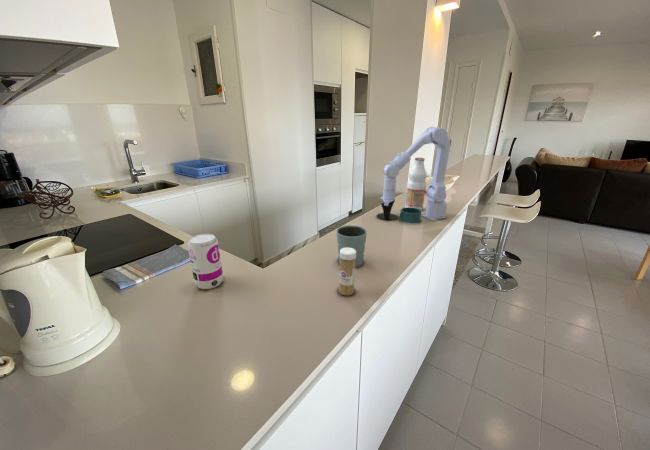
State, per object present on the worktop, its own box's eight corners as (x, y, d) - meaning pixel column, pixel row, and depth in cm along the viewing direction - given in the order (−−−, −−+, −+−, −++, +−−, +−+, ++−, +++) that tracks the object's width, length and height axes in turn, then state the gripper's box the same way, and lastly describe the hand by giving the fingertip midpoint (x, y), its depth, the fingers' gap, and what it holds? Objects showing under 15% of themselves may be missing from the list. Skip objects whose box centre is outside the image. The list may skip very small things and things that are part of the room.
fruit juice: (401, 208, 155) (407, 158, 145) (410, 205, 161) (416, 156, 151) (417, 212, 149) (423, 159, 139) (425, 209, 155) (432, 158, 145)
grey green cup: (370, 261, 98) (372, 230, 94) (353, 272, 91) (354, 239, 87) (348, 252, 104) (349, 223, 100) (330, 262, 98) (330, 230, 93)
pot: (410, 216, 143) (411, 206, 141) (424, 222, 135) (426, 212, 133) (395, 219, 139) (396, 208, 137) (408, 225, 131) (410, 214, 129)
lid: (388, 213, 147) (389, 204, 145) (401, 219, 138) (402, 210, 137) (372, 216, 143) (373, 207, 141) (384, 222, 134) (385, 213, 132)
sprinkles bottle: (336, 294, 80) (337, 252, 75) (341, 285, 84) (342, 245, 79) (351, 297, 78) (353, 255, 74) (356, 289, 82) (358, 248, 77)
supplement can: (229, 278, 88) (223, 234, 82) (211, 292, 80) (203, 246, 75) (208, 273, 90) (201, 231, 85) (189, 287, 83) (179, 242, 78)
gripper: (383, 185, 143) (381, 210, 148) (378, 192, 130) (376, 219, 135) (397, 186, 141) (394, 211, 146) (393, 193, 128) (391, 220, 133)
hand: (387, 215), depth 140 cm, fingers open, 5 cm apart
